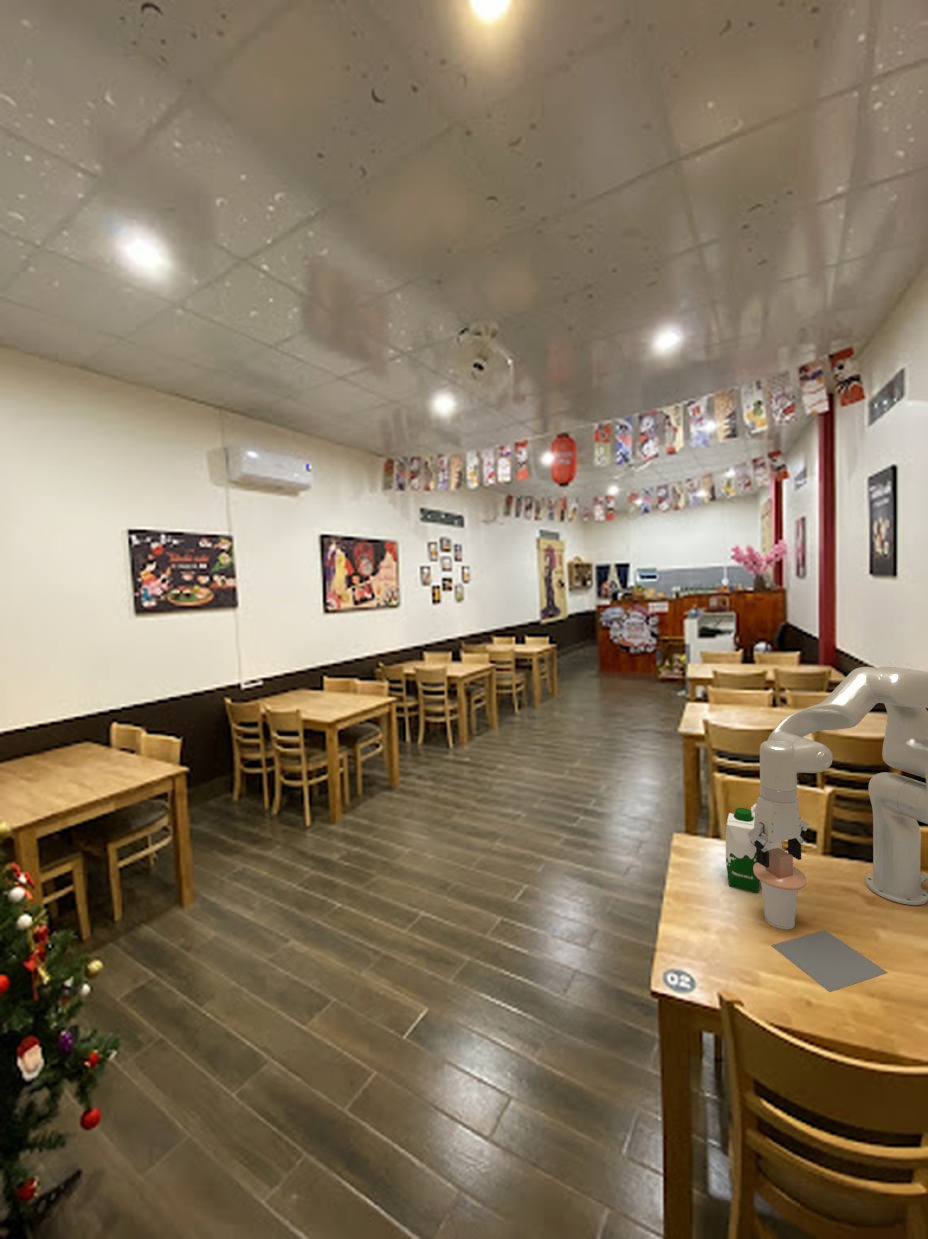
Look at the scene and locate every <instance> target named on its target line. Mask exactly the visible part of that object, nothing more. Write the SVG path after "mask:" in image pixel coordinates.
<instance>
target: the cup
mask: <svg viewBox="0 0 928 1239" xmlns="http://www.w3.org/2000/svg"><path fill="white" fill-rule="evenodd" d="M760 886H761V891H762V900H763V912H764V915H763V916H764V920H765V921H766V922H767V923H768V924H769V925H771V926H773V927H775V928H778V929H781V930H791V929H793V928H795V924H796V922H795V921H796V912H797V911H796V910H797V898H798V891H799V890H784V889H779V888H775V887H772V886H770V885H767V884H765V883H763V882H762V881H760Z"/></svg>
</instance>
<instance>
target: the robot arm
mask: <svg viewBox="0 0 928 1239" xmlns="http://www.w3.org/2000/svg"><path fill="white" fill-rule="evenodd" d="M879 703H880V704H883V705H884V706H885V709H886V714H887V716H886V717H887V719H886V727H885V731H884V732H885V733H884V738H883V743H882V753H881V754H882V760H883V761H884V763H885V764H886V765H887V766H889V767H891V768H893V769H895V770H900V771H902V772H905V773H908V774H910V775H911V774H912V775H914V776H917V777H921V778H925V782H923V781H919V780H917V779H914V778H911V777H907V776H904V775H901V774H899V773H893V772H886V771H885V772H883V771H882V772H880V773H876V774H874V775H873V776H872V777H871V779H870V780H869V783H868V795H869V800H870V803H871V807H872V819H873V824H872V827H873V829H872V830H873V832H872V835H873V836H872V838H873V841H872V844H873V845H872V848H873V849H872V850H873V852H872V856H873V858H872V860H873V861H872V862H873V864H872V867H873V868H872V870H873V872H872V874H868V875H867V876H866V878H865V884H866V886H867V887H868V889H870V890H871V891H872V892H873V893H874V894H876V895H878V897H882V898H883V899H886V900H889V901H891V902H894V903H898V904H903V905H908V906H909V905H910V906H921V905H925V904H926V903H927V902H928V891H926V889H924V888H923V887H922V884H924V882H928V873H927V872H926V871H925V872H921V850H922V848H921V845H922V844H921V843H922V842H921V841H922V833H921V828H920V824H919V823H918V822H920V823H924V824H926V825H928V710H927V709H928V671H927V670H926V671H925V670H917V669H910V668H902V667H893V666H882V667H881V666H880V667H873V666H862V667H858V668H857V667H856V668H855V669H853V670H851V672H849V673H848V674H847V676H845V678H844V679H843V680H842V681H841V682H839V684H838V685H837V686H836V687H835V688H834V690H833V691H831V693H830V694H828V696H827V697H825V699H824V700H823V701H822V702H819V703H817V704H814V705H810V706H809V707H805V708H804V709H801V710H798V711H796V712H793V713H792V714H790V715H788V716H786V717H785V718H784V719H783V720H782V721H781V722H780V723H779V724H777V726H776V727H775V728H774V729H773V730H772V732H771V733H770V734H769V736H768V738H767V740H765V741H763V742H761V743H760V745H759V793H760V794H759V795H760V796H758V797H757V800H756V803H755V804H756V808H755V818H754V828H753V829H752V830H751V831H750V832H748V837H749V839H750V841H751V843H752V844H753V845H754V846H755V847H756V861H757V862H758V863H759V864H761V865H763V866H764V867H766V868H768V867H769V852H768V851H767V849H768V848H769V846H770V844H771V843H775V842H780V841H782V842H784V841H787V853H789V854H791V855H793V859H796V860H798V861H801V860H802V844H803V843H804V838H805V837H806V835H807V830H808V827H809V825H810V824H809V822H807V821H805V820H803V819H802V818H801V817H802V816H801V810H800V803H799V799H798V798H797V795H798V794H797V790H798V786H797V785H798V783H797V782H798V781H797V774H798V773H804V774H805V773H806V774H817V773H821V772H825V771H826V770H828V769H829V768H830V767H831V765H832V764H833V760H834V759H833V753H832V751H831V750H830V749H829V747H828V746H826V745H825V744H823V743H821V742H818V741H815V740H813V739H809V738H806V737H805V736H808V735H810V734H812V733H816V732H817V733H818V732H822V731H824V732H825V731H834V730H835V731H836V730H845V729H850V728H854V727H856V726H858V725H859V724H860V723H861V721H863V719H864V718H865V717H867V715H868V713H870V711H871V710H872V709H873V708H874V707H875V706H876V705H877V704H879ZM765 835H766V837H767V838H766V837H764V836H765ZM757 836H758V837H757ZM762 840H765V843H764V844H763V845H762V844H761V842H762Z"/></svg>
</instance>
